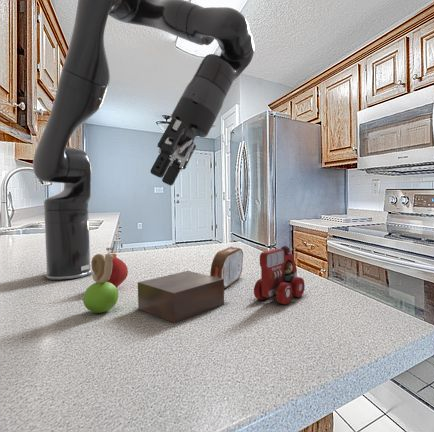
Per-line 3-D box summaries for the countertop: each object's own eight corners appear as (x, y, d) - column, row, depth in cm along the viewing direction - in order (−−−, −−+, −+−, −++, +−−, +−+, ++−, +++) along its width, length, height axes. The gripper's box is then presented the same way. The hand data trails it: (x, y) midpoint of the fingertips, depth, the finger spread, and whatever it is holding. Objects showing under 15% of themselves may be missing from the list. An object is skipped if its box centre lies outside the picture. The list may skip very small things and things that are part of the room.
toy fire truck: (308, 292, 67) (309, 245, 66) (278, 310, 56) (278, 253, 56) (281, 287, 70) (282, 242, 70) (248, 303, 60) (248, 250, 59)
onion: (114, 293, 65) (113, 256, 65) (91, 292, 67) (90, 255, 66) (133, 286, 71) (132, 251, 71) (112, 284, 72) (111, 250, 72)
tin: (233, 275, 81) (233, 244, 80) (245, 276, 80) (245, 244, 80) (208, 292, 66) (208, 254, 66) (222, 293, 66) (222, 254, 65)
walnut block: (138, 309, 57) (137, 282, 56) (188, 293, 66) (187, 270, 65) (174, 323, 50) (174, 293, 50) (224, 304, 59) (224, 278, 59)
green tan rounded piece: (96, 321, 51) (93, 249, 50) (77, 313, 54) (75, 246, 54) (128, 311, 55) (126, 245, 55) (108, 304, 59) (107, 242, 58)
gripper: (187, 113, 67) (152, 178, 65) (174, 80, 53) (129, 162, 51) (218, 128, 68) (186, 193, 66) (214, 100, 54) (172, 182, 52)
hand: (161, 180), depth 59 cm, fingers open, 8 cm apart
